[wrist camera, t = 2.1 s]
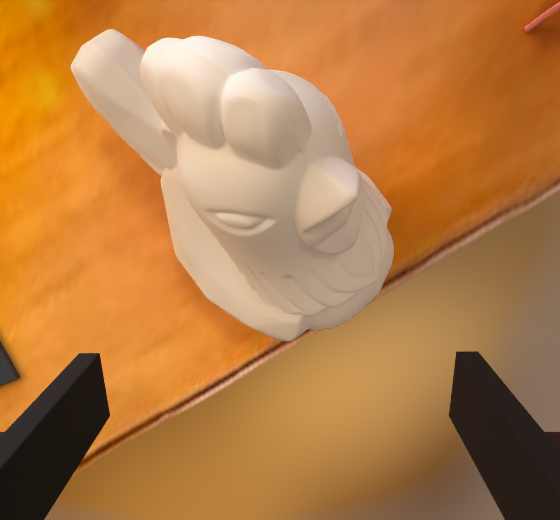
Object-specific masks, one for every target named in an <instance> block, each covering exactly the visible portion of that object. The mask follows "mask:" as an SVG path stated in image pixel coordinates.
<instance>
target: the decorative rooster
mask: <svg viewBox="0 0 560 520" xmlns="http://www.w3.org/2000/svg"><path fill="white" fill-rule="evenodd" d="M71 71H72V73H73V75H74V77H75V79H76V81H77V84H78V85H79V87H80V89H81V90H82V92H83V93H84V95H85V97H86V98H87V100H88V101H89V102H90V104H91V105H92V106H93V107H94V108H95V110H96V111H97V112H98V113H99V114H100V115H101V116H102V117H103V118H104V119H105V120H106V121H107V122H108V123H109V124H110V126H111V127H112V128H113V129H114V130H115V132H116V133H117V134H118V135H119V136H120V137H121V138H122V139H123V140H124V141H125V142H126V143H127V144H128V145H129V146H130V147H131V148H132V149H133V150H135V151H136V152H137V153H138V154H139V155H140V156H141V158H142V159H143V160H144V161H145V162H146V163H147V164H148V165H149V166H150V167H151V168H152V169H153V170H154V171H155V172H156V173H157V174H158V175H160V176H161V181H160V183H161V188H162V193H163V197H164V202H165V207H166V213H167V218H168V223H169V228H170V233H171V237H172V242H173V247H174V251H175V255H176V257H177V259H178V260H179V261H180V263H181V264H182V266H183V267H184V268H185V270H186V271H187V272H188V274H189V275H190V276H191V277H192V279H193V280H194V281H195V283H196V284H197V286H198V287H199V288H200V290H201V291H202V292H203V294H204V295H205V296H206V297H207V299H209V300H210V301H211V302H213V303H214V304H216V305H217V306H218V307H220V308H221V309H223V310H224V311H226V312H227V313H229V314H230V315H232V316H233V317H234V318H236V319H237V320H239V321H240V322H242V323H243V324H245V325H247V326H249V327H251V328H253V329H255V330H257V331H259V332H261V333H263V334H265V335H267V336H270V337H272V338H274V339H277V340H281V341H291V340H293V339H295V338H296V337H298V336H299V335H300V334H302V333H303V332H304V331H306V330H307V329H312V330H323V329H329V328H333V327H336V326H339V325H341V324H343V323H345V322H347V321H348V320H350V319H351V318H352V317H354V316H355V315H356V314H357V313H358V312H359V311H360V310H361V309H362V308H363V307H364V306H366V305H367V304H368V303H369V302H370V301H371V300H372V299H373V298H374V297H375V296H377V295H378V293H379V292H380V289H381V287H382V285H383V283H384V281H385V279H386V277H387V275H388V273H389V271H390V268H391V265H392V262H393V257H394V245H393V240H392V237H391V234H390V232H389V230H388V228H387V223H388V220H389V217H390V214H391V206H390V204H389V203H388V202H387V200H386V199H385V198H384V196H383V195H382V194H381V192H380V191H379V190H378V188H377V187H376V186H375V184H374V183H373V182H372V181H371V179H370V178H369V177H368V176H367V175H366V174H364V173H363V172H362V171H360V170H359V169H357V168H356V167H355V164H354V161H353V158H352V154H351V151H350V147H349V143H348V140H347V136H346V132H345V129H344V126H343V124H342V121H341V119H340V117H339V115H338V113H337V111H336V109H335V107H334V105H333V104H332V102H331V101H330V100H329V99H328V98H327V96H325V95H324V94H323V93H321V92H320V91H319V89H318V88H317V87H316V86H315V85H313V84H312V83H311V82H309V81H307V80H305V79H303V78H301V77H299V76H297V75H294V74H291V73H288V72H284V71H278V70H267V68H266V67H265V66H264V64H263V63H262V62H261V61H259V60H258V59H256V58H255V57H253V56H252V55H250V54H249V53H247V52H246V51H244V50H242V49H241V48H239V47H237V46H234V45H232V44H230V43H227V42H224V41H220V40H217V39H213V38H209V37H204V36H192V37H188V38H186V39H184V40H183V39H178V38H163V39H160V40H158V41H157V42H155V43H153V44H151V45H150V46H148V48H147V49H146V51H144V50H143V49H142V48H141V47H140V46H139V45H137V44H136V43H135V42H133V41H132V40H131V39H129V38H128V37H126V36H125V35H123V34H122V33H120V32H118V31H116V30H113V29H107V30H105V31H104V32H102V33H101V34H99V35H98V36H96V37H94V38H93V39H91V40H90V41H88V42H86V43H85V44H84V45H82V46H81V48H80V50H79V52H78V53H77V55H76V57H75V59H74V61H73V62H72V64H71Z"/></svg>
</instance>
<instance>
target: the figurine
mask: <svg viewBox="0 0 560 520" xmlns="http://www.w3.org/2000/svg"><path fill="white" fill-rule="evenodd" d="M559 9H560V1H559V2H558V3H557V4H555V5H554V6H553V7H551V8H550V9H548V10H547V11H546V12H544V13H543V14H541V15H540V16H539V17H537V18H536V19H534V20H533V21H532V22H530V23H529V24H528V25H526V26H525V27H524V30H525V31H526V32H528V31H530V30H531V29H532V28H534V27H535V26H537V25H538V24H539V23H541V22H542V21H544V20H545V19H547V18H548V17H549V16H551V15H552V14H554V13H555V12H557V11H558V10H559ZM558 86H559V85H558ZM556 87H557V86H556Z"/></svg>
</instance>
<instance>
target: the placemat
mask: <svg viewBox="0 0 560 520" xmlns="http://www.w3.org/2000/svg"><path fill="white" fill-rule="evenodd" d="M19 377H20V376H19V374H18V372H17V370H16V368H15V367H14V365H13V363H12V361H11V359H10V358H9V356H8V354H7V352H6V350H5V349H4V347H3V345H2V343H1V341H0V385H3V384H5V383H8V382H11V381H13V380H16V379H18V378H19Z"/></svg>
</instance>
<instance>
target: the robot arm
mask: <svg viewBox="0 0 560 520" xmlns="http://www.w3.org/2000/svg"><path fill="white" fill-rule="evenodd" d="M109 417H110V413H109V407H108V401H107V395H106V389H105V383H104V377H103V371H102V365H101V359H100V353H79V354H78V355H77V356H76V357H75V359H74V360H73V361H72V362H71V363H70V364H69V365H68V366H67V367H66V368H65V369H64V370H63V371H62V372H61V373H60V374H59V375H58V376H57V378H56V379H55V380H54V381H53V382H52V383H51V384H50V385H49V386H48V387H47V388H46V389H45V390H44V391H43V392H42V393H41V394H40V396H39V397H38V398H37V399H36V400H35V401H34V402H33V403H32V404H31V405H30V406H29V407H28V408H27V409H26V410H25V411H24V412H23V413H22V415H21V416H20V417H19V418H18V419H17V420H16V421H15V422H14V423H13V424H12V425H11V426H10V427H9V428H8V429H7V430H6V431H5V432H0V520H44V519H45V517H46V516H47V514H48V512H49V511H50V509H51V508H52V506H53V505H54V503H55V502H56V500H57V498H58V497H59V495H60V494H61V492H62V490H63V489H64V487H65V486H66V484H67V483H68V481H69V480H70V478H71V476H72V475H73V473H74V472H75V470H76V469H77V467H78V465H79V464H80V462H81V461H82V459H83V458H84V456H85V454H86V453H87V451H88V450H89V448H90V446H91V445H92V443H93V442H94V440H95V439H96V437H97V435H98V434H99V432H100V431H101V429H102V428H103V426H104V424H105V423H106V421H107V420H108V418H109ZM449 417H450V419H451V420H452V422H453V424H454V426H455V428H456V430H457V432H458V434H459V435H460V437H461V439H462V441H463V443H464V445H465V446H466V448H467V450H468V452H469V454H470V456H471V458H472V459H473V461H474V463H475V465H476V467H477V468H478V471H479V472H480V474H481V476H482V478H483V480H484V482H485V483H486V485H487V487H488V489H489V491H490V493H491V495H492V496H493V498H494V500H495V502H496V504H497V506H498V508H499V509H500V511H501V513H502V515H503V517H504V519H505V520H560V432H544V431H543V430H542V429H541V428H540V426H539V425H538V424H537V423H536V422H535V420H534V419H533V418H532V417H531V415H530V414H529V413H528V412H527V411H526V409H525V408H524V407H523V406H522V405H521V403H520V402H519V401H518V400H517V399H516V397H515V396H514V395H513V394H512V393H511V391H510V390H509V389H508V388H507V386H506V385H505V384H504V383H503V381H502V380H501V379H500V378H499V377H498V376H497V374H496V373H495V372H494V371H493V370H492V368H491V367H490V366H489V364H488V363H487V362H486V361H485V360H484V359H483V357H482V356H481V355H480V354H479V352H456V360H455V369H454V377H453V386H452V394H451V403H450V412H449Z"/></svg>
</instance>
